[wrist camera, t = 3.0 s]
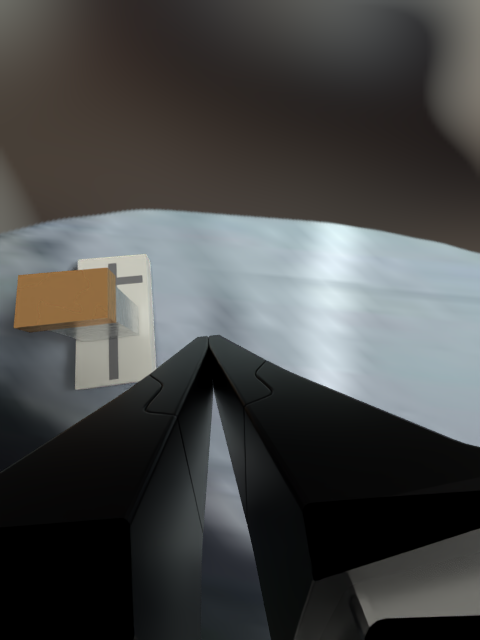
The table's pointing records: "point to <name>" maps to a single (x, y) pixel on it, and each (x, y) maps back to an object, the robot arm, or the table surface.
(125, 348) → the block
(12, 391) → the table surface
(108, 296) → the handle
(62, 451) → the robot arm
